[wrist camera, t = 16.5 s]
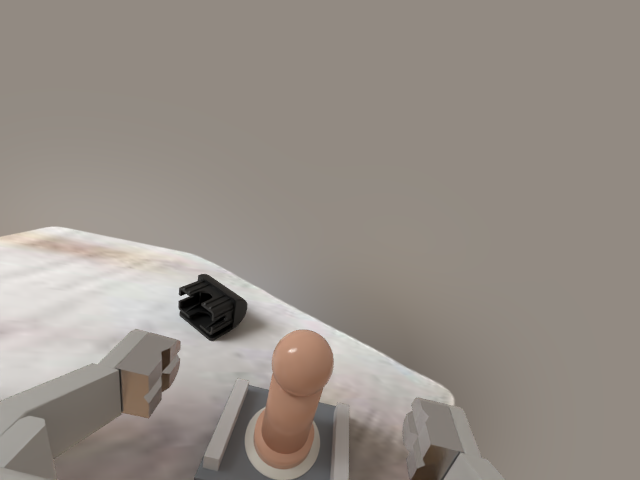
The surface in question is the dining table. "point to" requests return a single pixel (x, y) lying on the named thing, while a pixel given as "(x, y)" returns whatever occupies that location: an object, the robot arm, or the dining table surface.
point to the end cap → (211, 307)
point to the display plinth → (239, 452)
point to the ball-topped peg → (293, 399)
